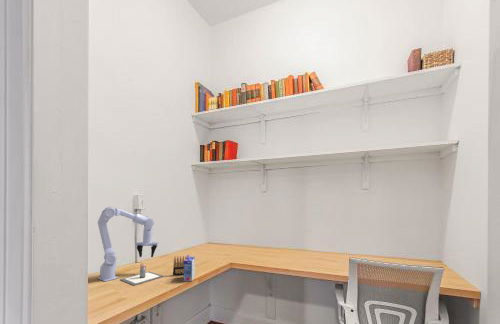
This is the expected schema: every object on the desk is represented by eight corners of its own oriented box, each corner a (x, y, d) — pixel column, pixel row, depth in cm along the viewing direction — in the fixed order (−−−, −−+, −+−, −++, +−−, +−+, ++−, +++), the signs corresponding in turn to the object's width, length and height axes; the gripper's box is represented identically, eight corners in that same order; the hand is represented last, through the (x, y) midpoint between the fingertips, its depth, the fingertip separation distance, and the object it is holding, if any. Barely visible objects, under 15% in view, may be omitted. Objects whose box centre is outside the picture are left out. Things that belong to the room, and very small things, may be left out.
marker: (138, 277, 154) (139, 264, 155) (142, 276, 157) (143, 263, 158) (142, 278, 153) (142, 265, 154) (146, 277, 155) (147, 263, 157)
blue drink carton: (186, 276, 159) (187, 252, 161) (195, 276, 159) (195, 252, 161) (182, 281, 149) (183, 256, 151) (191, 281, 150) (192, 256, 152)
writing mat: (119, 280, 151) (119, 279, 151) (149, 272, 167) (149, 271, 167) (133, 285, 142) (133, 284, 142) (163, 276, 158) (163, 275, 158)
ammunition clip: (189, 274, 164) (190, 255, 165) (189, 274, 162) (190, 255, 163) (173, 274, 162) (173, 255, 163) (172, 275, 160) (173, 256, 162)
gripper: (134, 237, 164) (132, 258, 162) (156, 237, 164) (155, 258, 163) (138, 235, 171) (137, 255, 169) (159, 235, 171) (158, 255, 170)
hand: (146, 256), depth 166 cm, fingers open, 7 cm apart
